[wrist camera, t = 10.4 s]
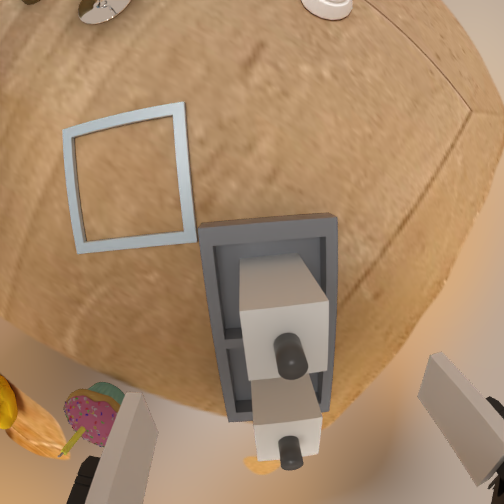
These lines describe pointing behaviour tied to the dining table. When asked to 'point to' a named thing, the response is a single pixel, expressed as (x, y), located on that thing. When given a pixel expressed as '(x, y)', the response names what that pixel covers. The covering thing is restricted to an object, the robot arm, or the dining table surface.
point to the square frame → (182, 169)
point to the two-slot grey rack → (228, 281)
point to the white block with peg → (282, 318)
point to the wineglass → (100, 10)
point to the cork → (30, 1)
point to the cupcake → (92, 413)
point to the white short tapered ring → (329, 8)
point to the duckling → (7, 404)
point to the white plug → (286, 420)
